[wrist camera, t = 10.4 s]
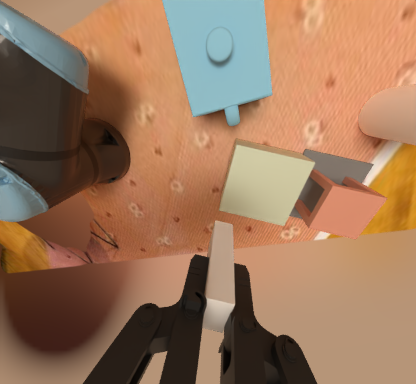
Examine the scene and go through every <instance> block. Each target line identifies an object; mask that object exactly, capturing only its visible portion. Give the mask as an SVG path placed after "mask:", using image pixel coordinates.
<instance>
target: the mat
mask: <svg viewBox="0 0 416 384" xmlns="http://www.w3.org/2000/svg"><path fill="white" fill-rule="evenodd" d="M303 155H305V156H306V157H308V158H309V159H311V160H312V161H314V162H315V165H314V167H313V169H315V170H318V171H319V172H320V173H322V174H323V175H325V176H326V177H327V178H329V179H330V180H332V181H333V182H334V183H336V184H338V185H342V186H346V187H348V186H347V185H345V184H344V183H342V181H343V180H344V178H345V176H346V177H350V178H353V179H355V180H356V181H358V182H360V183H362V182H363V180H364V179H365V177H366V176H367V174H368V173H369V171H370V170H371V168H372V166H373V165H374V164H370V163H365V162H361V161H356V160H352V159H347V158H343V157H339V156H334V155H330V154H325V153H321V152H316V151H312V150H308V149H305V151H304V153H303ZM324 190H325V189H324V188H322V187H321V186H320V185H319V184H318V183H317V182H316V181H314V180H313V179H312V178H311V177H310V176H309V177H308V179H307V181H306V183H305V185H304V187H303V189H302V191H301V193H300V195H299V197H298V199H299V200H302V202H303V203H304V204H305V205H306V207H307V208H308V209H309V211H310V212H311V213H312V211H313V210H314V208H315V206H316V204H317V202H318V201H319V199H320V197H321V195H322V194H323V192H324ZM289 216H292V217H297V218H301V219H302V217H301V215H300V214H299V212H298V211H297V209H296V208H295V206H294V207H293V209H292V211H291V213H290V215H289Z"/></svg>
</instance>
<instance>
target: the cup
mask: <svg viewBox="0 0 416 384" xmlns="http://www.w3.org/2000/svg"><path fill="white" fill-rule="evenodd" d="M358 125H359V128H360V130H361V131H362V132H363V133H364V134H366V135H368V136H372V137H377V138H382V139H387V140H392V141H397V142H402V143H407V144H412V145H416V84H413V85H405V86H398V87H391V88H387V89H384V90H381V91H379V92H377V93H376V94H374V95H373V96H372V97H370V98H369V99H368V100H367V102H366V103H365V104H364V105H363V107H362V109H361V111H360V113H359V117H358Z"/></svg>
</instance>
